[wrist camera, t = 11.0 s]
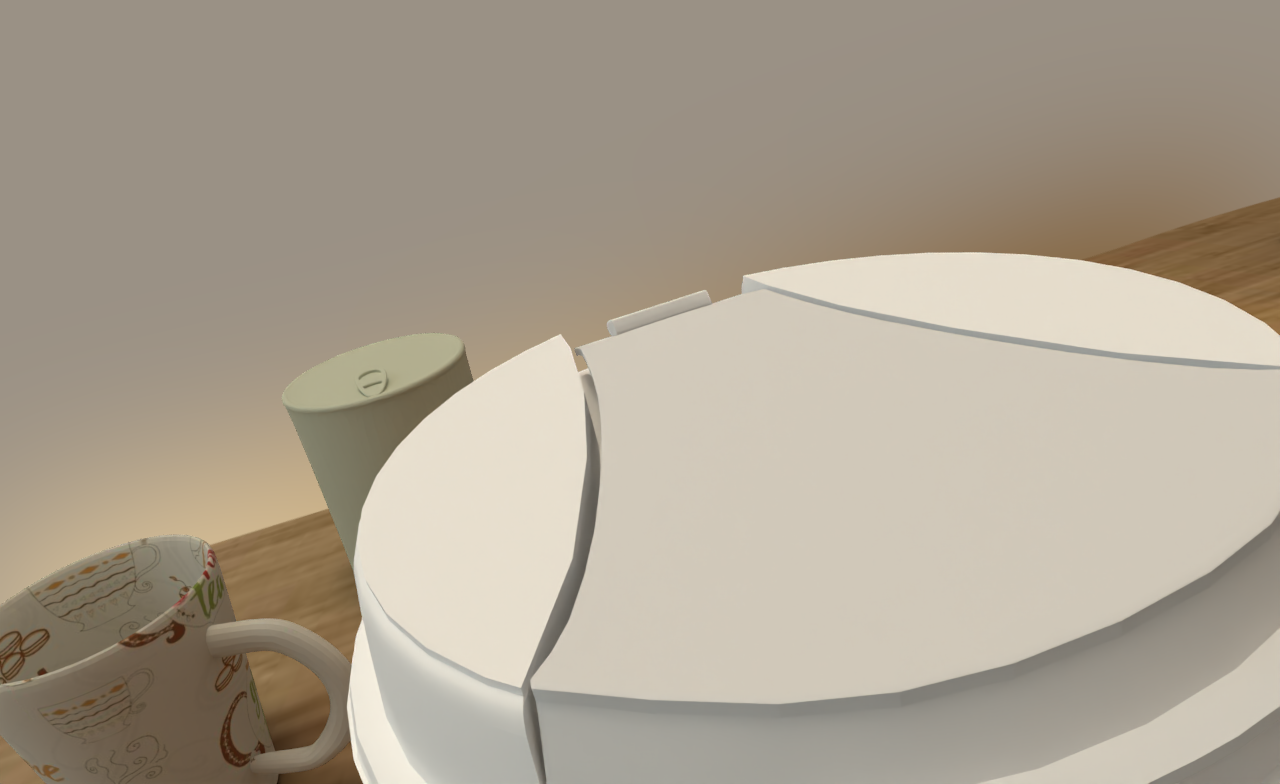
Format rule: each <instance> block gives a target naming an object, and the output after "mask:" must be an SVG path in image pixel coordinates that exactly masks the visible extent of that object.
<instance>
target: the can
mask: <svg viewBox="0 0 1280 784" xmlns="http://www.w3.org/2000/svg"><path fill="white" fill-rule="evenodd" d="M472 382H474V381H473V378H472V374H471V371H470V367H469V364H468V360H467V356H466V352H465V345H464V343H463V341H462V340H461V339H460V338H458V337H456V336H454V335H450V334H444V333H425V334H415V335H409V336H403V337H398V338H392V339H388V340H384V341H380V342H377V343H373V344H370V345H367V346H363V347H360V348H357V349H354V350H351V351H349V352H346V353H343V354H341V355H338V356H336V357H334V358H332V359H329V360H327V361H325V362H323V363H321V364H319V365H317V366H315V367H313V368H312V369H310V370H308V371H306V372H305V373H303V374H302V375H300V376H299V377H298V378H296V379H295V380H294V381H293V382H291V383H290V384H289V385H288V387H287V388H286V389H285V390H284V393H283V395H282V402H283V404H284V406H285V407H286V409H287V411H288V413H289V415H290V417H291V419H292V421H293V424H294V426H295V429H296V431H297V433H298V436H299V438H300V440H301V443H302V445H303V448H304V450H305V452H306V455H307V457H308V459H309V461H310V464H311V466H312V469H313V471H314V474H315V476H316V479H317V481H318V483H319V486H320V488H321V491H322V493H323V496H324V498H325V501H326V503H327V506H328V508H329V511H330V513H331V516H332V518H333V520H334V523H335V525H336V528H337V530H338V533H339V535H340V538H341V540H342V543H343V545H344V548H345V550H346V553H347V556H348V558H349V561H350V564H351V566H352V569H353V572H354V555H355V548H356V541H357V534H358V526H359V522H360V519H361V513H362V508H363V505H364V503H365V501H366V498H367V496H368V494H369V492H370V489H371V487H372V485H373V482H374V480H375V478H376V476H377V474H378V473H379V472H380V470H381V469H382V467H383V466H384V465H385V463H386V462H387V460H388V459H389V457H390V456H391V455H392V453H393V452H394V450H395V449H396V448H397V446H398V445H399V444H400V443H401V442H402V441H403V440H404V439H405V438H406V437H407V436H408V435H409V434H410V433H411V432H412V431H413V430H414V429H415V428H416V427H417V426H418V425H419V424H420V423H421V422H422V421H423V420H424V419H425V418H426V417H427V416H428V415H430V414H431V413H432V412H433V411H434V410H436V409H437V408H438V407H439V406H441V405H442V404H443V403H444V402H446V401H447V400H448V399H449V398H451V397H452V396H453V395H454V394H456V393H457V392H459V391H460V390H462V389H463V388H465V387H466V386H468V385H469V384H471V383H472Z"/></svg>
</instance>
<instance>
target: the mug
mask: <svg viewBox="0 0 1280 784" xmlns="http://www.w3.org/2000/svg"><path fill="white" fill-rule="evenodd" d="M255 651H274V652H278V653H281V654H284V655H286V656H289V657H291V658H293V659H295V660H296V661H298V662H300V663H302V664H303V665H305V666H306V667H307V668H309V669H310V670H311V671H312V672H314V673H315V674H316V675H317V676H318V678H319V679H320V680H321V681H322V683H323V684H324V686H325V687H326V689H327V692H328V694H329V698H330V714H329V718H328V721H327V724H326V726H325V728H324V730H323V732H322V733H321V735H320V737H319V738H318V739H317V741H316V742H315V743H314V744H312V745H311V746H307V747H302V748H296V749H289V750H281V751H275V750H274V746H273V743H272V739H271V736H270V733H269V729H268V726H267V723H266V719H265V716H264V713H263V709H262V706H261V703H260V699H259V696H258V693H257V689H256V686H255V682H254V679H253V676H252V672H251V669H250V666H249V662H248V659H247V656H246V653H249V652H255ZM351 667H352V665H351V664H350V662H349V661H348V660H347V659H346V658H345V657H344V656H343V654H342V653H341V652H340V651H339V650H337V649H336V648H335V647H334V646H333V645H332V644H330V643H329V642H327V641H326V640H325V639H323V638H322V637H320V636H318V635H317V634H315V633H313V632H312V631H310V630H308V629H306V628H304V627H302V626H300V625H297V624H295V623H292V622H289V621H286V620H280V619H252V620H243V621H236V619H235V615H234V612H233V609H232V605H231V602H230V599H229V595H228V592H227V589H226V585H225V582H224V579H223V575H222V572H221V569H220V566H219V563H218V560H217V558H216V555H215V553H214V551H213V550H212V548H211V547H210V546H209V545H208V543H206V542H205V541H204V540H202V539H200V538H197V537H193V536H188V535H164V536H156V537H149V538H145V539H140V540H136V541H132V542H128V543H125V544H121V545H118V546H115V547H112V548H109V549H106V550H103V551H101V552H98V553H96V554H93V555H90V556H88V557H85V558H83V559H81V560H78V561H76V562H74V563H72V564H70V565H67V566H66V567H63V568H61V569H59V570H57V571H55V572H53V573H51V574H49V575H48V576H46V577H44V578H42V579H40V580H39V581H37V582H35V583H33V584H31V585H30V586H28V587H27V588H25V589H23V590H22V591H20V592H19V593H17V594H16V595H14V596H12V597H11V598H10V599H8V600H7V601H5V602H4V603H2V604H1V605H0V735H1V736H2V737H3V738H4V739H5V740H6V741H7V743H8V744H9V745H10V746H11V747H12V748H13V749H14V750H15V751H16V752H17V753H18V754H19V755H20V756H21V757H22V758H23V760H24V761H25V762H26V763H27V764H28V765H29V766H30V767H31V768H32V769H33V770H34V771H35V772H36V773H37V774H38V775H39V776H40V778H41V779H42V780H43V781H44V782H45V783H46V784H277V781H278V775H279V774H284V773H293V772H302V771H307V770H312V769H315V768H318V767H320V766H322V765H324V764H326V763H327V762H329V761H330V760H331V759H333V758H334V757H335V756H336V755H337V754H338V753H339V752H341V751H342V750H343V749H344V748H345V746H346V745H347V744H348V743H349V742H350V741H351V735H350V728H349V720H348V712H347V701H348V692H349V684H350V675H351Z"/></svg>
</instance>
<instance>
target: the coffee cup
mask: <svg viewBox="0 0 1280 784" xmlns="http://www.w3.org/2000/svg"><path fill="white" fill-rule="evenodd" d="M607 328H608V331H609V333H610V335H612V336H611V337H608V338H605V339H602V340H598V341H595V342H592V343H590V344H586V345H583V346H580V347H577V348H575V352H576V355H577V356H578V355H582V356H583V358H584V360H585V362H586V363H587V366H588V368H587V369H585V370H583V371H580V372H578V371H577V368H576V365H575V361H574V358H573V355H572V352H571V349H570V347H569V345H568V344H567V343H566V341H565V340H564V338H563V337H562V336H561V334H560V335H558V336H556V337H554V338H552V339H549V340H547V341H545V342H543V343H541V344H539V345H537V346H535V347H533V348H530V349H528V350H526V351H524V352H523V353H521V354H519V355H517V356H515V357H514V358H512V359H510V360H508V361H506V362H505V363H503V364H501V365H499V366H498V367H496V368H494V369H492V370H490V371H489V372H487V373H486V374H484V375H483V376H481V377H480V378H478V379H477V380H475V381H474V382H472V383H471V384H469V385H468V386H466V387H465V388H463V389H462V390H460V391H459V392H457V393H456V394H454V395H453V396H452V397H451V398H449V399H448V400H447V401H446V402H444V403H443V404H442V405H441V406H439V407H438V408H437V409H436V410H434V411H433V412H432V413H431V414H430V415H428V416H427V417H426V418H425V419H424V420H423V421H422V422H421V423H420V424H419V425H418V426H417V427H416V428H415V429H414V430H413V431H412V432H411V433H410V434H409V435H408V436H407V437H406V438H405V439H404V440H403V441H402V442H401V443H400V444H399V445H398V446H397V448H396V449H395V450H394V452H393V453H392V455H391V456H390V457H389V459H388V460H387V462H386V463H385V465H384V466H383V467H382V469H381V470H380V472H379V473H378V474H377V476H376V478H375V480H374V482H373V485H372V487H371V489H370V492H369V494H368V496H367V498H366V501H365V503H364V505H363V508H362V513H361V519H360V522H359V526H358V534H357V541H356V548H355V555H354V576H355V582H356V587H357V593H358V598H359V603H360V609H361V614H362V621H361V624H360V626H359V629H358V632H357V635H356V639H355V648H354V654H353V658H352V667H351V675H350V684H349V692H348V701H347V712H348V720H349V728H350V735H351V743H352V751H353V758H354V762H355V765H356V767H357V769H358V772H359V774H360V777H361V779H362V782H363V784H1280V336H1279V335H1278V334H1277V333H1276V332H1275V331H1274V330H1273V329H1271V328H1270V327H1269V326H1268V325H1267V324H1266V323H1264V322H1262V321H1260V320H1258V319H1257V318H1255V317H1253V316H1251V315H1250V314H1248V313H1246V312H1244V311H1243V310H1241V309H1239V308H1237V307H1236V306H1234V305H1232V304H1230V303H1229V302H1227V301H1225V300H1223V299H1220V298H1218V297H1215V296H1212V295H1210V294H1207V293H1205V292H1202V291H1200V290H1197V289H1194V288H1192V287H1189V286H1187V285H1184V284H1182V283H1179V282H1176V281H1172V280H1168V279H1164V278H1161V277H1157V276H1153V275H1150V274H1146V273H1142V272H1138V271H1135V270H1131V269H1126V268H1121V267H1115V266H1109V265H1104V264H1098V263H1093V262H1087V261H1081V260H1074V259H1063V258H1055V257H1045V256H1036V255H1024V254H1002V253H979V252H974V253H973V252H971V253H970V252H969V253H917V254H901V255H884V256H872V257H862V258H852V259H843V260H834V261H826V262H819V263H813V264H807V265H799V266H793V267H786V268H781V269H776V270H770V271H765V272H760V273H755V274H750V275H745V276H743V282H742V294H740V295H737V296H734V297H731V298H728V299H725V300H722V301H719V302H716V303H712V302H711V300H710V297H709V295H708V293H707V291H706V290H703V291H700V292H697V293H693V294H690V295H687V296H684V297H681V298H678V299H675V300H672V301H668V302H665V303H662V304H659V305H656V306H653V307H650V308H647V309H644V310H640V311H637V312H634V313H631V314H628V315H625V316H622V317H618V318H615V319H613V320H609V321H608V322H607Z"/></svg>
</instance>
